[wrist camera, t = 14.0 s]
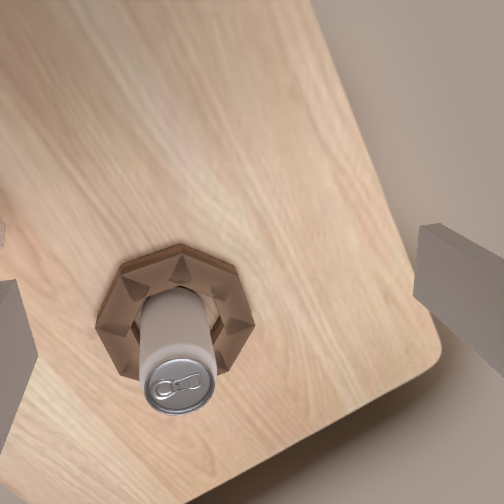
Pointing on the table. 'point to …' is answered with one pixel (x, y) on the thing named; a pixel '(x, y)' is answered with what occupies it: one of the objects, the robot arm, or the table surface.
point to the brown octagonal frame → (163, 278)
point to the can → (176, 353)
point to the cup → (2, 233)
